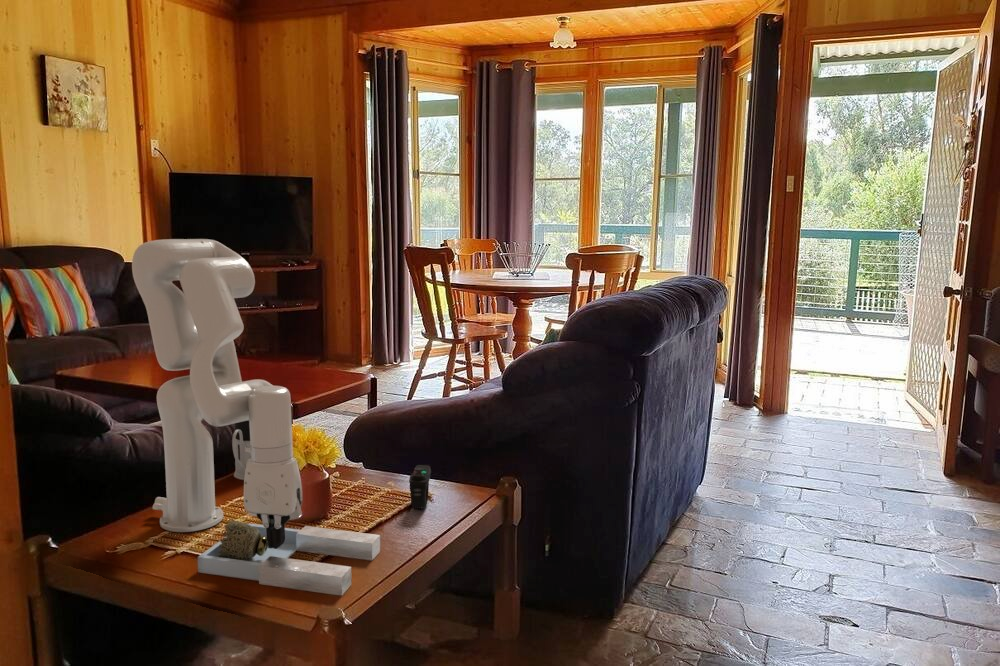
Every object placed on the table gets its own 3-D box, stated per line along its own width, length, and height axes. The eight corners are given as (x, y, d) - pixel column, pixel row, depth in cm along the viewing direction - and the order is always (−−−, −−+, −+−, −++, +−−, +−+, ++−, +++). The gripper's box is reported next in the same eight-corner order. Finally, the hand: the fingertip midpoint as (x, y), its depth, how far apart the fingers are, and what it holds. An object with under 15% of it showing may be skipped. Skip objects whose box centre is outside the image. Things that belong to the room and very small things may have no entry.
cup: (266, 562, 147) (225, 555, 147) (275, 524, 148) (234, 517, 148) (257, 570, 140) (214, 562, 140) (266, 530, 141) (223, 522, 140)
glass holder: (275, 469, 195) (274, 412, 193) (252, 488, 181) (250, 428, 179) (242, 467, 196) (241, 411, 193) (217, 486, 182) (215, 426, 179)
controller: (407, 515, 168) (407, 472, 166) (414, 494, 180) (414, 454, 178) (426, 516, 168) (427, 473, 166) (432, 495, 180) (432, 455, 178)
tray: (198, 572, 139) (197, 557, 139) (245, 536, 155) (244, 522, 154) (262, 581, 137) (261, 565, 136) (303, 544, 152) (303, 530, 152)
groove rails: (259, 583, 136) (258, 565, 135) (305, 542, 153) (305, 525, 152) (342, 595, 132) (341, 577, 132) (380, 551, 150) (380, 535, 149)
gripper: (224, 455, 139) (229, 550, 141) (299, 461, 136) (303, 557, 138) (246, 444, 146) (251, 534, 149) (317, 449, 143) (321, 541, 146)
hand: (276, 545), depth 144 cm, fingers closed
